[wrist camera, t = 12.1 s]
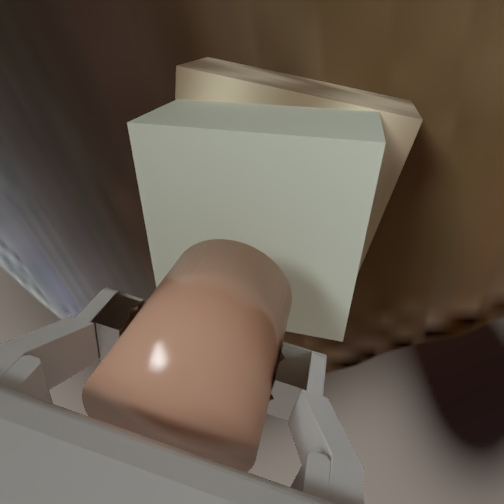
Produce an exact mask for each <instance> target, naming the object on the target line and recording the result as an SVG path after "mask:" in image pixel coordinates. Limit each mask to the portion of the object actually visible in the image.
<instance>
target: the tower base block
mask: <svg viewBox="0 0 504 504" xmlns="http://www.w3.org/2000/svg"><path fill="white" fill-rule="evenodd" d="M177 99H185V100H201V101H218V102H234V103H250V104H266V105H283V106H299V107H315V108H331V109H347V110H363V111H379V113H380V118H381V122H382V127H383V132H384V136H385V141H386V144H385V149H384V153H383V158H382V163H381V167H380V172H379V176H378V181H377V186H376V190H375V195H374V200H373V204H372V209H371V213H370V218H369V223H368V227H367V232H366V237H365V241H364V246H363V250H362V255H361V260H360V264H359V269H358V272H359V270H360V268H361V265H362V263H363V261H364V258H365V256H366V253H367V251H368V249H369V246H370V244H371V242H372V239H373V237H374V235H375V232H376V230H377V227H378V225H379V223H380V220H381V218H382V216H383V213H384V211H385V209H386V206H387V204H388V201H389V199H390V197H391V194H392V192H393V190H394V187H395V185H396V183H397V180H398V178H399V175H400V173H401V171H402V168H403V166H404V164H405V161H406V159H407V156H408V154H409V152H410V149H411V147H412V145H413V142H414V140H415V138H416V135H417V133H418V130H419V128H420V126H421V123H422V121H423V119H422V118H421V116H420V114H419V113H418V111H417V110H416V108H415V106H414V105H413V103H412V101H410V100H406V99H401V98H396V97H392V96H387V95H382V94H378V93H373V92H368V91H364V90H359V89H354V88H350V87H345V86H341V85H336V84H331V83H327V82H322V81H317V80H313V79H308V78H303V77H299V76H294V75H289V74H285V73H280V72H275V71H271V70H266V69H261V68H257V67H252V66H247V65H243V64H238V63H233V62H229V61H224V60H219V59H215V58H210V57H206V58H203V59H199V60H195V61H192V62H188V63H185V64H181V65H177V66H176V92H175V100H177ZM357 275H358V274H357Z"/></svg>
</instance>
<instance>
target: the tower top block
mask: <svg viewBox="0 0 504 504" xmlns="http://www.w3.org/2000/svg"><path fill="white" fill-rule="evenodd" d="M127 126H128V131H129V137H130V143H131V148H132V154H133V159H134V165H135V170H136V176H137V182H138V187H139V193H140V198H141V204H142V210H143V215H144V221H145V226H146V232H147V238H148V243H149V249H150V254H151V260H152V266H153V271H154V277H155V282H156V288H157V287H158V285H159V284H160V283H161V281H162V280H163V279H164V277H165V276H166V275H167V273H168V272H169V271H170V269H171V268H172V267H173V265H174V264H175V263H176V261H177V260H178V259H179V257H180V256H181V255H182V253H183V252H184V251H186V250H187V249H188V248H189V247H191V246H192V245H194V244H197V243H199V242H202V241H206V240H212V239H227V240H234V241H238V242H242V243H245V244H247V245H250V246H252V247H254V248H256V249H258V250H260V251H261V252H263V253H264V254H266V255H267V256H268V257H270V258H271V259H272V260H273V261H274V262H275V263H276V264H277V265H278V266H279V267H280V269H281V270H282V271H283V273H284V274H285V276H286V278H287V280H288V282H289V285H290V288H291V293H292V305H291V310H290V314H289V319H288V323H287V327H286V331H288V332H293V333H298V334H304V335H309V336H314V337H320V338H325V339H330V340H336V341H341V342H343V338H344V334H345V329H346V324H347V320H348V315H349V311H350V306H351V301H352V297H353V292H354V287H355V283H356V278H357V274H358V269H359V264H360V260H361V255H362V250H363V246H364V241H365V237H366V232H367V227H368V223H369V218H370V213H371V209H372V204H373V200H374V195H375V190H376V186H377V181H378V176H379V172H380V167H381V163H382V158H383V153H384V149H385V144H386V141H385V136H384V132H383V127H382V122H381V118H380V113H379V111H363V110H347V109H331V108H315V107H299V106H283V105H266V104H250V103H234V102H218V101H201V100H185V99H177V100H175V101H172V102H170V103H168V104H166V105H164V106H162V107H159V108H157V109H155V110H153V111H151V112H149V113H146V114H144V115H142V116H140V117H138V118H136V119H133V120H131V121H129V122H127Z"/></svg>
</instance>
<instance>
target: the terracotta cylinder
mask: <svg viewBox="0 0 504 504" xmlns="http://www.w3.org/2000/svg"><path fill="white" fill-rule="evenodd" d="M291 305H292V293H291V288H290V285H289V282H288V280H287V278H286V276H285V274H284V273H283V271H282V270H281V269H280V267H279V266H278V265H277V264H276V263H275V262H274V261H273V260H272V259H271V258H270V257H268V256H267V255H266V254H264V253H263V252H261V251H260V250H258V249H256V248H254V247H252V246H250V245H247V244H245V243H242V242H238V241H234V240H227V239H212V240H206V241H202V242H199V243H197V244H194V245H192V246H191V247H189V248H188V249H187V250H186V251H184V252H183V253H182V255H181V256H180V257H179V259H178V260H177V261H176V263H175V264H174V265H173V267H172V268H171V269H170V271H169V272H168V273H167V275H166V276H165V277H164V279H163V280H162V281H161V283H160V284H159V285H158V287H157V288H156V289H155V291H154V292H153V293H152V295H151V296H150V297H149V299H148V300H147V301H146V303H145V304H144V305H143V307H142V308H141V309H140V311H139V312H138V313H137V315H136V316H135V317H134V319H133V320H132V321H131V323H130V324H129V325H128V327H127V328H126V329H125V331H124V332H123V333H122V335H121V336H120V337H119V339H118V340H117V341H116V343H115V344H114V345H113V347H112V348H111V349H110V351H109V352H108V353H107V355H106V356H105V357H104V359H103V360H102V362H101V363H100V364H99V366H98V367H97V368H96V370H95V371H94V372H93V374H92V375H91V376H90V378H89V379H88V380H87V382H86V383H85V385H84V387H83V393H82V400H83V404H84V408H85V410H86V412H87V414H88V416H89V417H91V418H94V419H97V420H100V421H103V422H106V423H108V424H111V425H114V426H117V427H120V428H123V429H126V430H128V431H131V432H134V433H137V434H140V435H143V436H146V437H148V438H151V439H154V440H157V441H160V442H163V443H166V444H168V445H171V446H174V447H177V448H180V449H183V450H185V451H188V452H191V453H194V454H197V455H200V456H202V457H205V458H208V459H211V460H214V461H217V462H220V463H222V464H225V465H228V466H231V467H234V468H237V469H239V470H242V471H245V472H248V471H249V470H250V469H251V468H252V466H253V465H254V463H255V460H256V455H257V450H258V447H259V442H260V438H261V434H262V430H263V425H264V421H265V417H266V413H267V408H268V404H269V400H270V396H271V390H272V386H273V381H274V377H275V373H276V370H277V366H278V360H279V356H280V351H281V347H282V344H283V340H284V336H285V331H286V327H287V323H288V319H289V314H290V310H291Z"/></svg>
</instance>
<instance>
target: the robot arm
mask: <svg viewBox="0 0 504 504" xmlns="http://www.w3.org/2000/svg"><path fill="white" fill-rule="evenodd" d="M145 303H146V300H144V299H141V298H138V297H135V296H132V295H129V294H126V293H123V292H120V291H116V290H113V289H110V288H107V287H106V288H104V289H102V290H101V291H100V292H99V293H98V294H97V295H96V297H95V298H94V299H93V300H92V301H91V302H90V303H89V304H88V305H87V306H86V307H85V308H84V309H83V310H82V311H81V312H80V313H79V314H78V316H77V317H73V316H71V317H68V318H66V319H63V320H61V321H58V322H55V323H53V324H50V325H47V326H45V327H42V328H39V329H37V330H34V331H32V332H29V333H26V334H24V335H21V336H18V337H16V338H13V339H11V340H8V341H5V342H3V343H0V504H364V467H363V465H362V463H361V461H360V459H359V457H358V455H357V453H356V451H355V449H354V447H353V445H352V443H351V442H350V440H349V438H348V436H347V434H346V432H345V430H344V428H343V426H342V424H341V422H340V420H339V418H338V416H337V415H336V413H335V411H334V409H333V407H332V405H331V403H330V401H329V399H328V398H327V397H324V385H325V374H326V363H327V356H326V355H325V354H322V353H319V352H316V351H311V350H309V349H306V348H303V347H299V346H296V345H292V344H289V343H286V342H283V344H282V347H281V351H280V356H279V360H278V366H277V370H276V373H275V377H274V381H273V386H272V390H271V396H270V400H269V404H268V408H267V413H266V414H269V415H272V416H275V417H278V418H281V419H283V420H286V421H289V422H288V423H289V427H290V430H291V432H292V436H293V439H294V442H295V445H296V448H297V451H298V454H299V457H300V460H301V463H302V466H301V468H300V470H299V472H298V474H297V476H296V478H295V479H294V481H293V483H292V485H291V487H288V486H285V485H282V484H279V483H276V482H273V481H271V480H268V479H265V478H262V477H259V476H256V475H254V474H251V473H248V472H245V471H242V470H239V469H237V468H234V467H231V466H228V465H225V464H222V463H220V462H217V461H214V460H211V459H208V458H205V457H202V456H200V455H197V454H194V453H191V452H188V451H185V450H183V449H180V448H177V447H174V446H171V445H168V444H166V443H163V442H160V441H157V440H154V439H151V438H148V437H146V436H143V435H140V434H137V433H134V432H131V431H128V430H126V429H123V428H120V427H117V426H114V425H111V424H108V423H106V422H103V421H100V420H97V419H94V418H91V417H89V416H86V415H83V414H80V413H77V412H74V411H71V410H68V409H66V408H63V407H60V406H57V405H54V404H53V402H52V399H51V396H50V393H49V390H50V389H51V388H53V387H54V386H56V385H58V384H60V383H61V382H63V381H65V380H67V379H68V378H70V377H72V376H73V375H75V374H77V373H78V372H80V371H82V370H83V369H85V368H86V367H88V366H90V365H92V364H94V363H95V362H97V361H99V359H101V360H103V359H104V357H105V356H106V355H107V353H108V352H109V351H110V349H111V348H112V347H113V345H114V344H115V343H116V341H117V340H118V339H119V337H120V336H121V335H122V333H123V332H124V331H125V329H126V328H127V327H128V325H129V324H130V323H131V321H132V320H133V319H134V317H135V316H136V315H137V313H138V312H139V311H140V309H141V308H142V307H143V305H144V304H145Z"/></svg>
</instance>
